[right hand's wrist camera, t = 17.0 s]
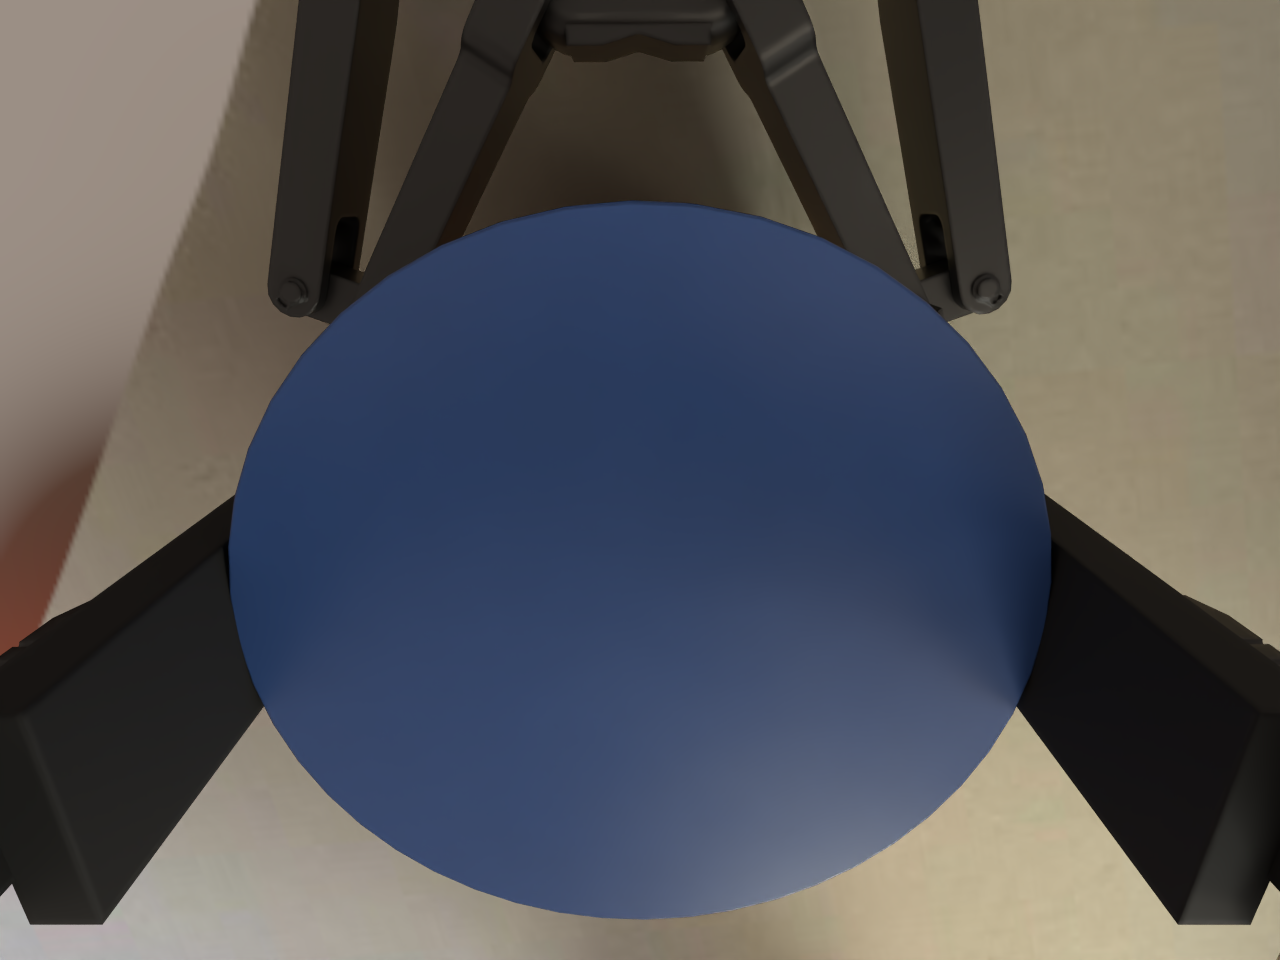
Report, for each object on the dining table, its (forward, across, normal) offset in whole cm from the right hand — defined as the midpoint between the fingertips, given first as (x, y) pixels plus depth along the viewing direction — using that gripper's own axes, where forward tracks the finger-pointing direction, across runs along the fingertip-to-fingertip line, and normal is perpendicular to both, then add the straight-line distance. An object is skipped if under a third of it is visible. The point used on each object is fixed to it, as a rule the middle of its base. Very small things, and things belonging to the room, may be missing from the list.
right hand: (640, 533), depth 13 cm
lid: (-3, 0, 0) cm, 3 cm away
